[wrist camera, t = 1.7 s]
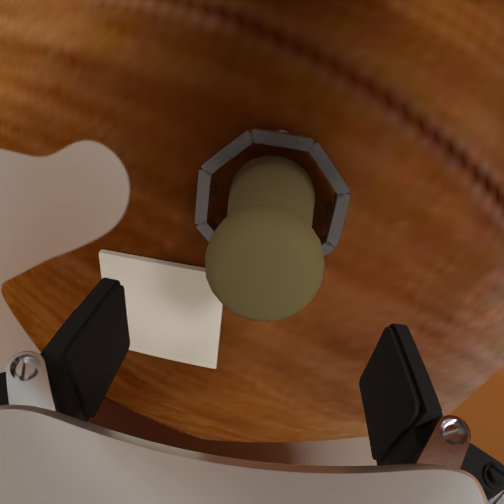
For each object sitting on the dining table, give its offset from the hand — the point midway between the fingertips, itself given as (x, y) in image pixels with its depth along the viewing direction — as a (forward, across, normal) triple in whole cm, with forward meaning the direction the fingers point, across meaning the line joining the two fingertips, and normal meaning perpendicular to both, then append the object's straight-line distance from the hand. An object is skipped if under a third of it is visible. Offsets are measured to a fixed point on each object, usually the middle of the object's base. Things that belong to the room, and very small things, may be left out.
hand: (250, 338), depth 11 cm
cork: (+14, 0, -1) cm, 14 cm away
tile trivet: (+14, +8, +11) cm, 19 cm away
